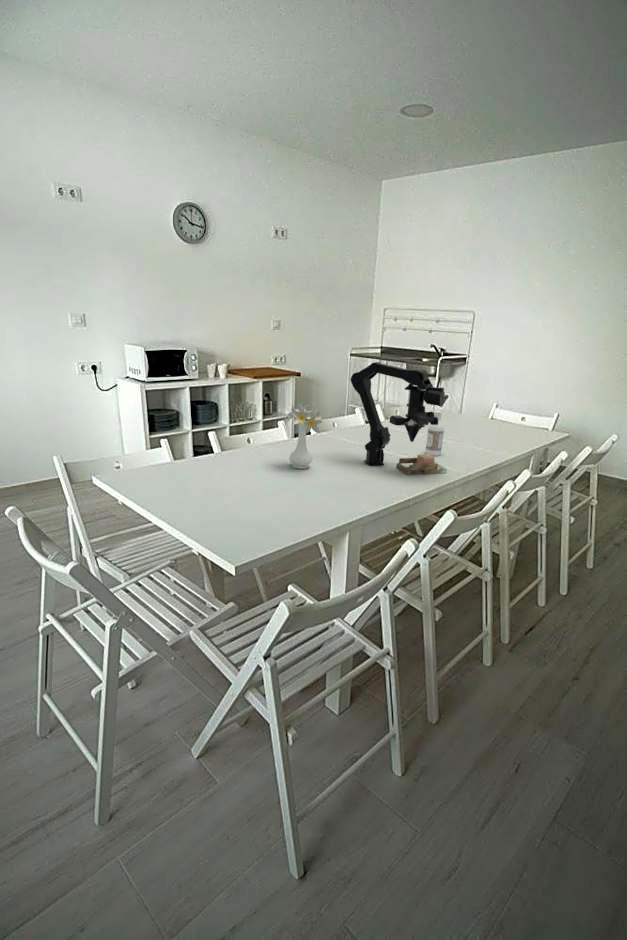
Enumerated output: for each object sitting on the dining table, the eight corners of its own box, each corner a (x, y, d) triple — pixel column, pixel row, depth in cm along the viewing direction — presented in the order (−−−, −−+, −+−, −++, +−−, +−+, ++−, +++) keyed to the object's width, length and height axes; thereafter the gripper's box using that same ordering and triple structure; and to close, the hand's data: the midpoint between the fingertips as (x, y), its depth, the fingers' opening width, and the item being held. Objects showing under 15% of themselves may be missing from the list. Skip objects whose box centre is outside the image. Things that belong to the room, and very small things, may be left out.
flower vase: (300, 475, 183) (304, 410, 176) (276, 462, 198) (279, 401, 191) (328, 472, 191) (333, 409, 183) (303, 459, 205) (307, 400, 198)
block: (422, 467, 195) (423, 458, 193) (416, 464, 199) (417, 454, 198) (433, 467, 196) (434, 457, 195) (427, 463, 201) (428, 454, 199)
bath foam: (422, 452, 225) (427, 410, 219) (433, 451, 228) (439, 409, 222) (431, 456, 219) (437, 413, 213) (443, 455, 222) (449, 412, 216)
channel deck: (407, 475, 191) (408, 465, 190) (396, 467, 200) (397, 458, 199) (446, 473, 196) (447, 463, 195) (433, 465, 205) (434, 456, 204)
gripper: (404, 406, 178) (399, 447, 182) (448, 406, 183) (443, 446, 188) (390, 401, 188) (387, 440, 193) (433, 401, 193) (428, 439, 198)
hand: (411, 441), depth 192 cm, fingers closed
